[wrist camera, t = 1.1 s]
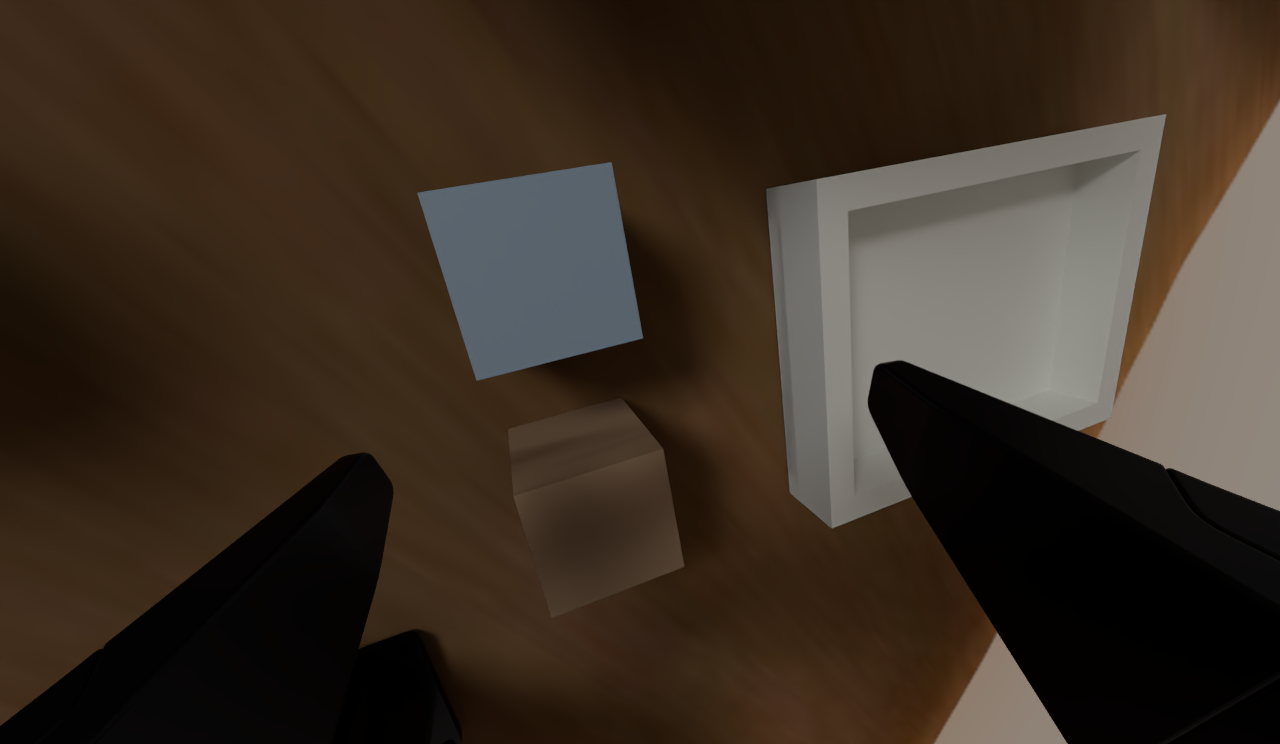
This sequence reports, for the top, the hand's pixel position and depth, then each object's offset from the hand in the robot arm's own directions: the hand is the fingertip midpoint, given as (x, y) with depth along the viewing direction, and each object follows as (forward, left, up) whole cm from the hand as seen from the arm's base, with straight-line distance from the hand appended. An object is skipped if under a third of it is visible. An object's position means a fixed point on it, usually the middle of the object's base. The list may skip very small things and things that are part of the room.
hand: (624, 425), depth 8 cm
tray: (-3, -18, -9) cm, 20 cm away
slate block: (+3, 0, -9) cm, 10 cm away
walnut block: (-5, 0, -9) cm, 11 cm away
